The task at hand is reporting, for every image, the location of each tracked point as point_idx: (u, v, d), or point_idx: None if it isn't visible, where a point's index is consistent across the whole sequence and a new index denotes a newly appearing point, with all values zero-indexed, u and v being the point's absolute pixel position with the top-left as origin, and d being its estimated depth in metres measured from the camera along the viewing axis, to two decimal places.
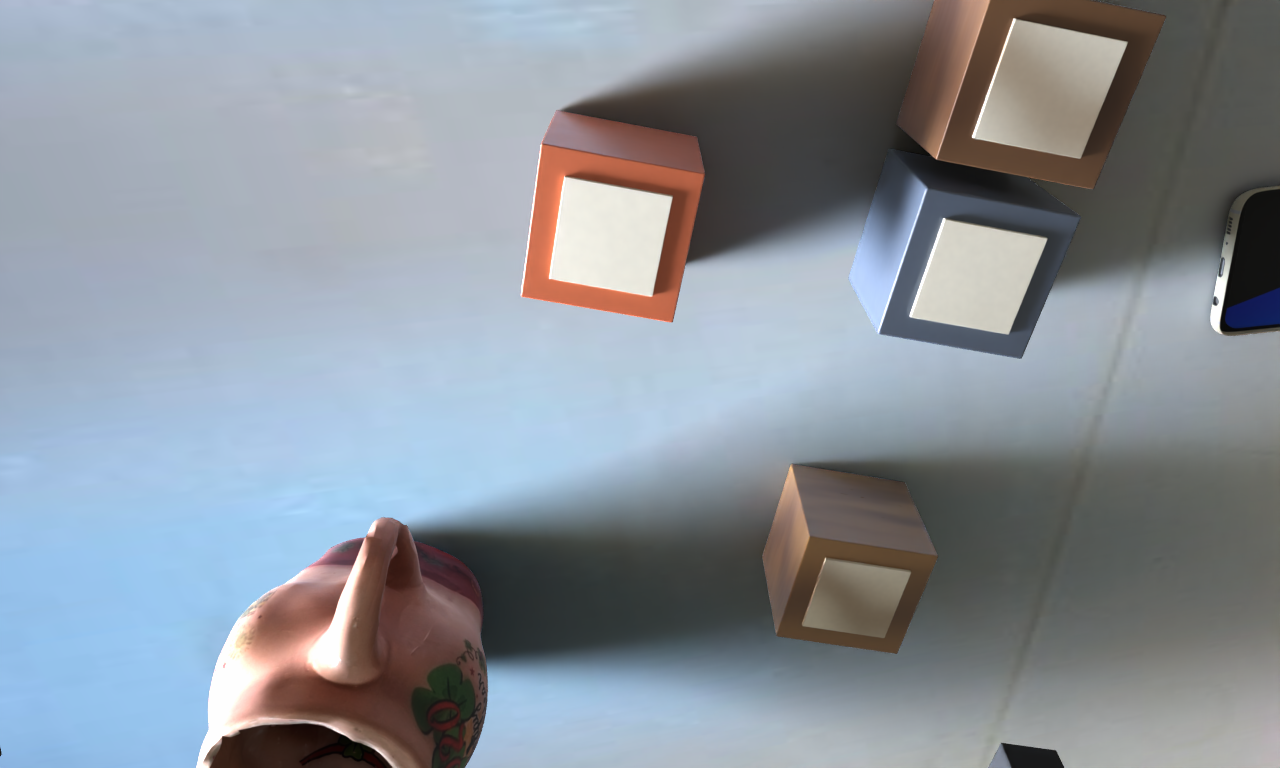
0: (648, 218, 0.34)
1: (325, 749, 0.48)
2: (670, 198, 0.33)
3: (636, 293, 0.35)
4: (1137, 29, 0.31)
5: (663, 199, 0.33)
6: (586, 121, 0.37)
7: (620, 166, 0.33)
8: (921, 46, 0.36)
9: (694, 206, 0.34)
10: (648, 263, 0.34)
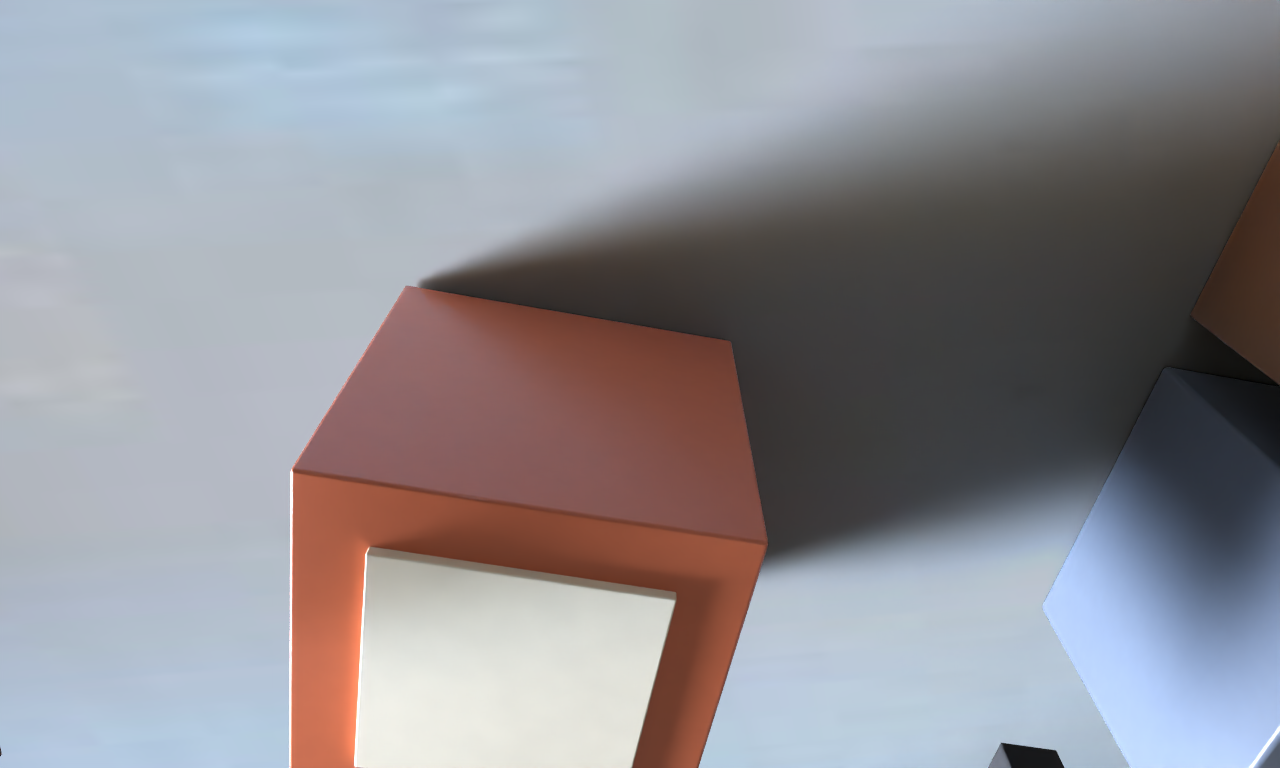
0: (609, 647, 0.12)
1: None
2: (669, 604, 0.12)
3: None
4: None
5: (650, 603, 0.12)
6: (469, 322, 0.16)
7: (526, 525, 0.11)
8: None
9: (736, 616, 0.12)
10: (612, 738, 0.13)
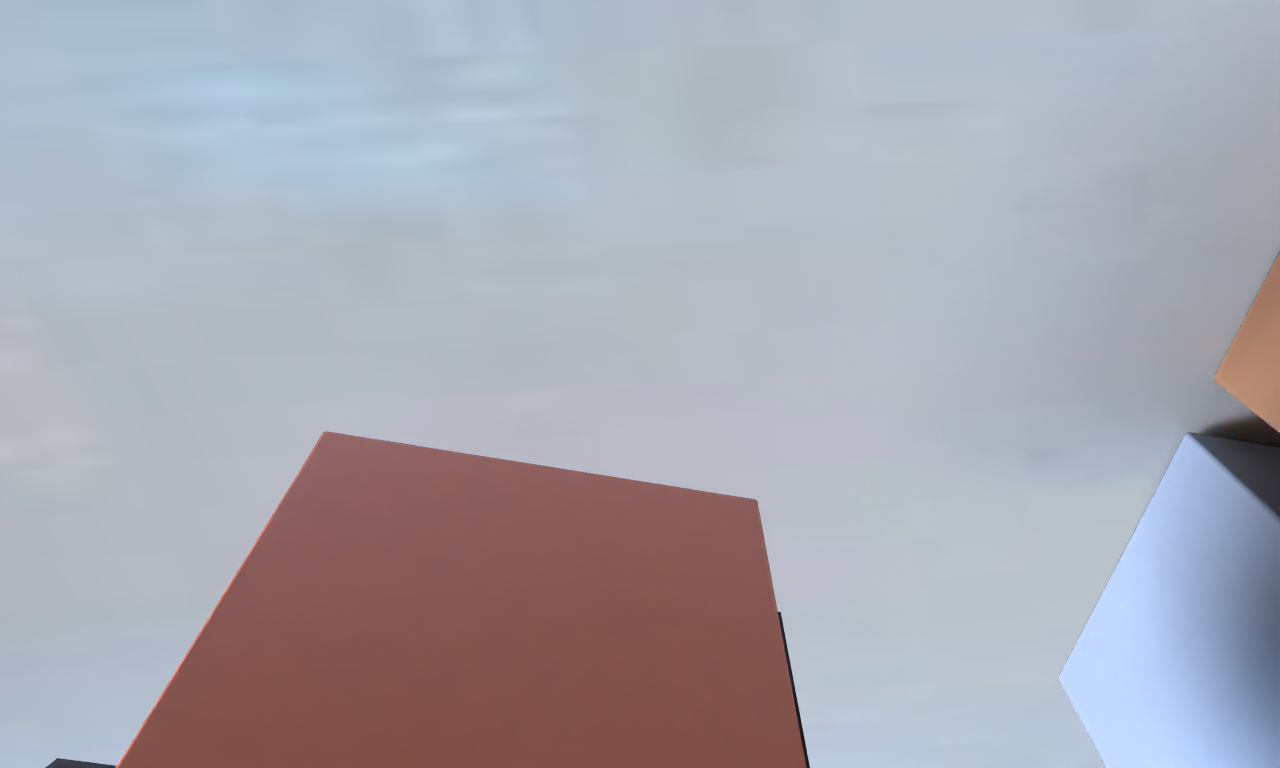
0: None
1: None
2: None
3: None
4: None
5: None
6: (405, 490, 0.11)
7: None
8: None
9: None
10: None
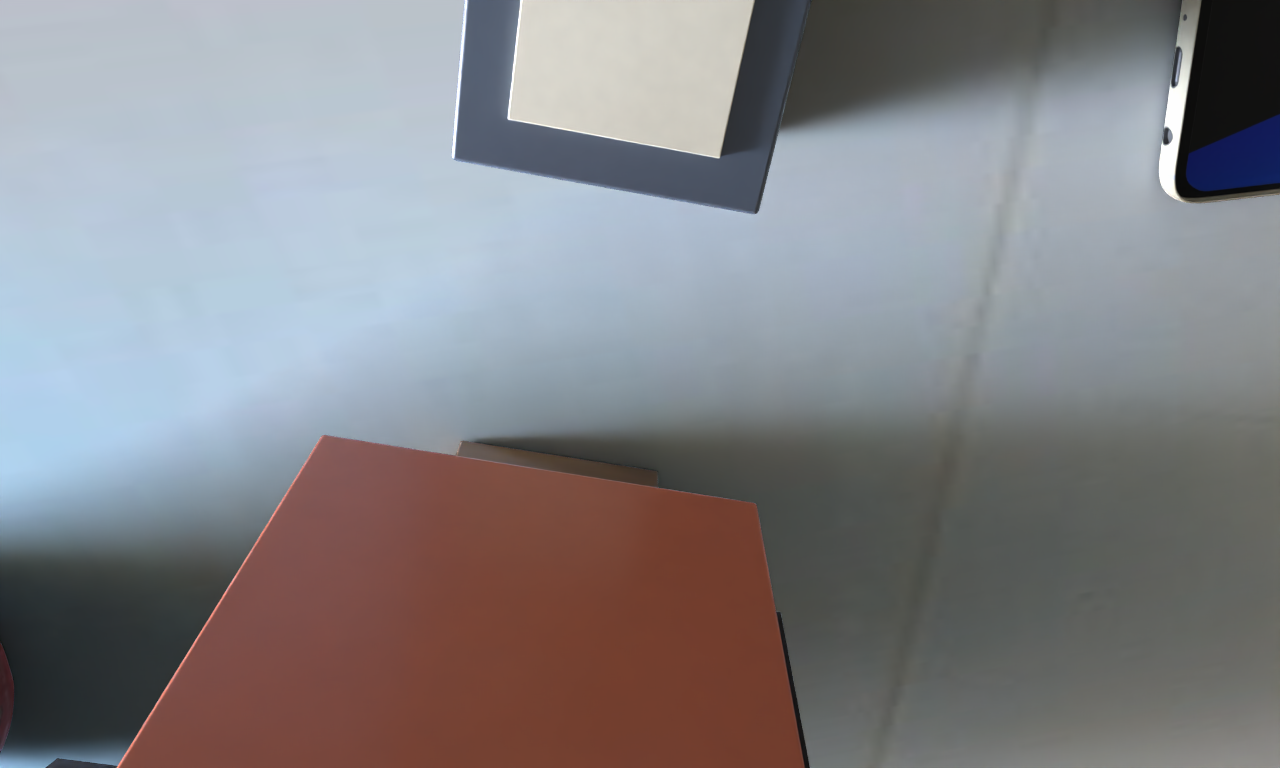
0: None
1: None
2: None
3: None
4: None
5: None
6: (403, 494, 0.11)
7: None
8: None
9: None
10: None
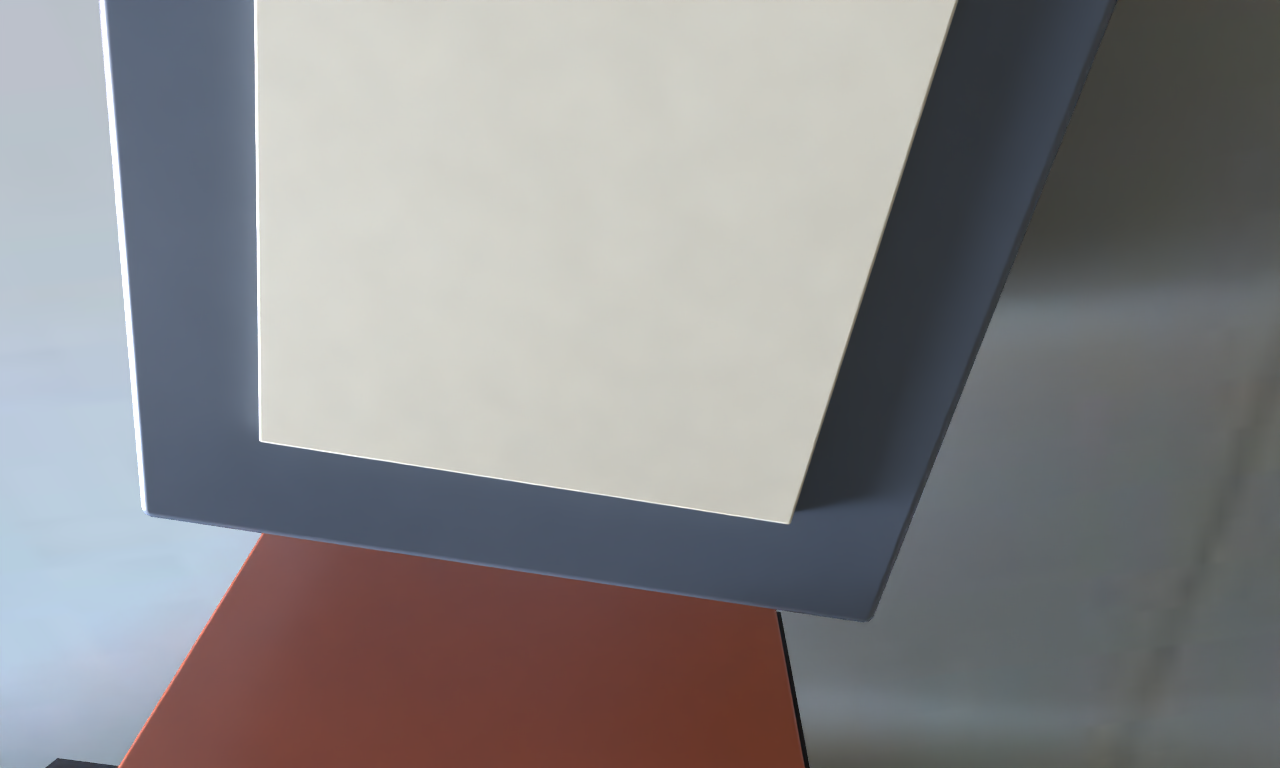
0: None
1: None
2: None
3: None
4: None
5: None
6: None
7: None
8: None
9: None
10: None
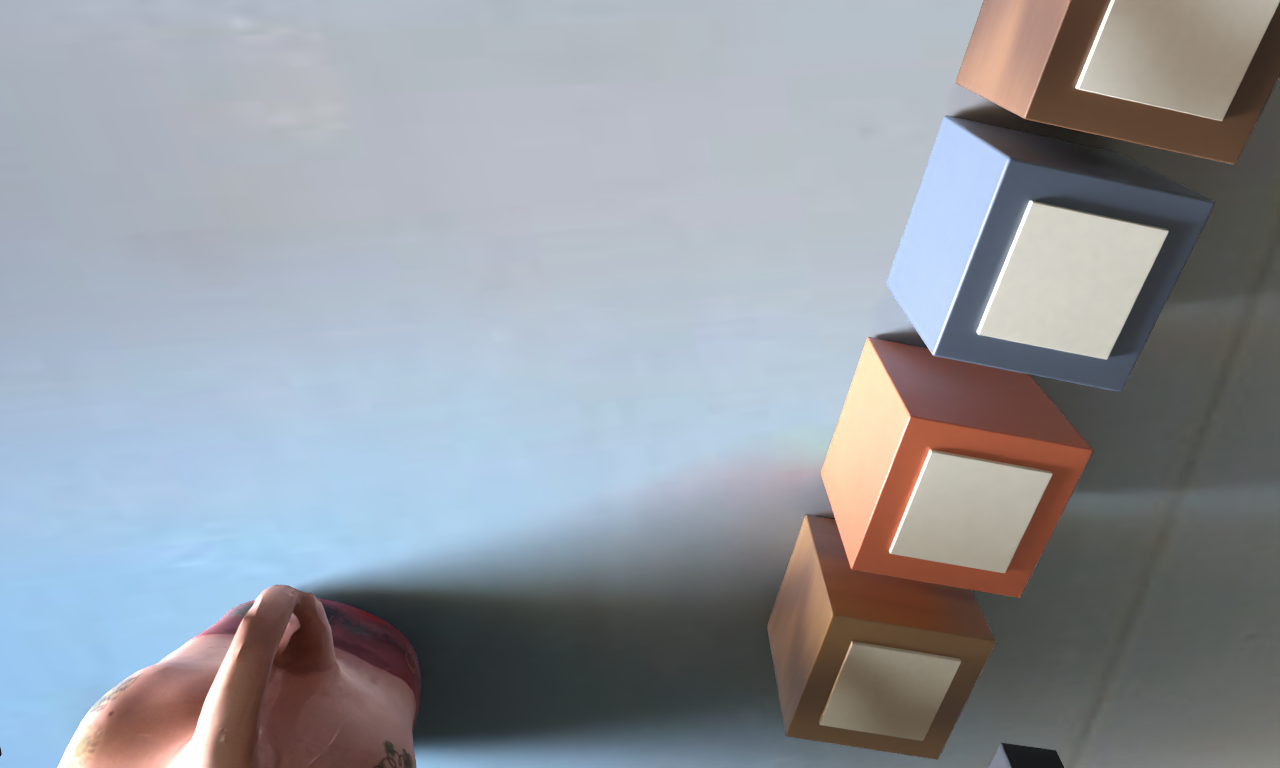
0: (1019, 495, 0.29)
1: None
2: (1049, 475, 0.29)
3: (986, 569, 0.30)
4: None
5: (1040, 475, 0.29)
6: (910, 355, 0.32)
7: (997, 441, 0.28)
8: None
9: (1073, 482, 0.29)
10: (1008, 540, 0.30)
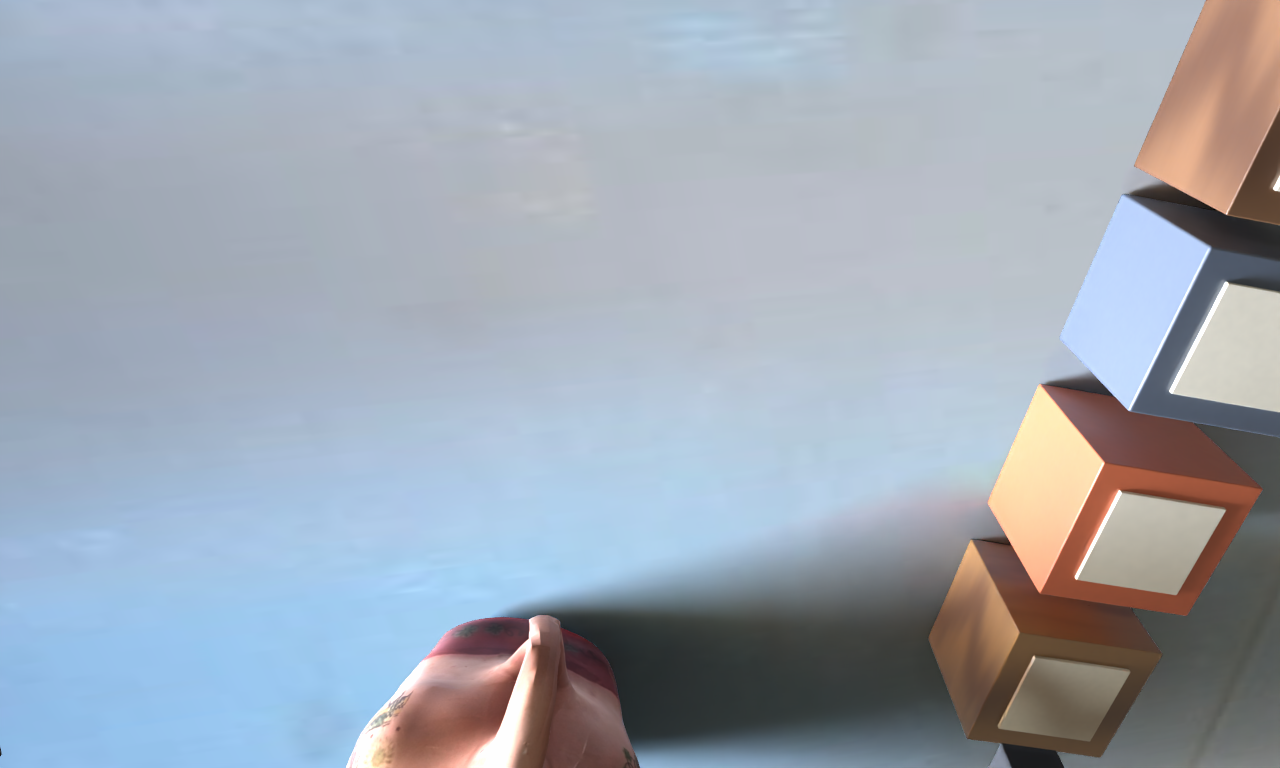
0: (1195, 528, 0.33)
1: None
2: (1223, 511, 0.33)
3: (1160, 592, 0.34)
4: None
5: (1214, 511, 0.33)
6: (1081, 401, 0.36)
7: (1179, 482, 0.32)
8: (1175, 78, 0.31)
9: (1243, 516, 0.33)
10: (1182, 566, 0.34)
